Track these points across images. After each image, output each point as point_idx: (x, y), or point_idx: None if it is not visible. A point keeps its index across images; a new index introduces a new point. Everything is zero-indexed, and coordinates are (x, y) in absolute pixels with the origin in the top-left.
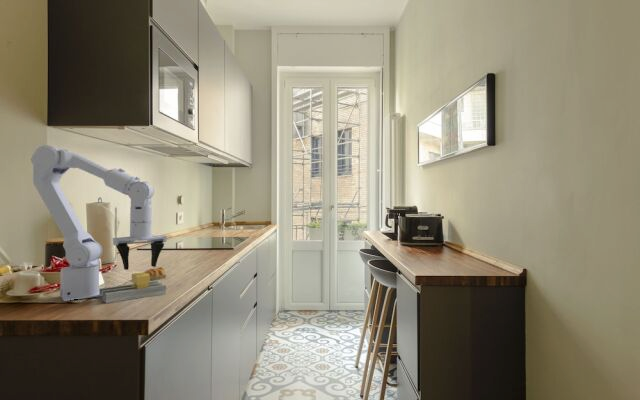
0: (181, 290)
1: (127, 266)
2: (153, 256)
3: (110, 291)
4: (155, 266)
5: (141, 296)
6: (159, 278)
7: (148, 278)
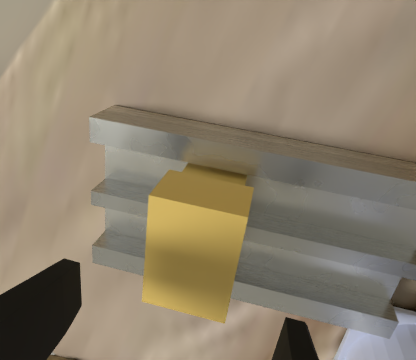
0: (26, 111)
1: (297, 340)
2: (13, 354)
3: (381, 252)
4: (63, 259)
5: (245, 131)
6: (49, 357)
7: (168, 186)
